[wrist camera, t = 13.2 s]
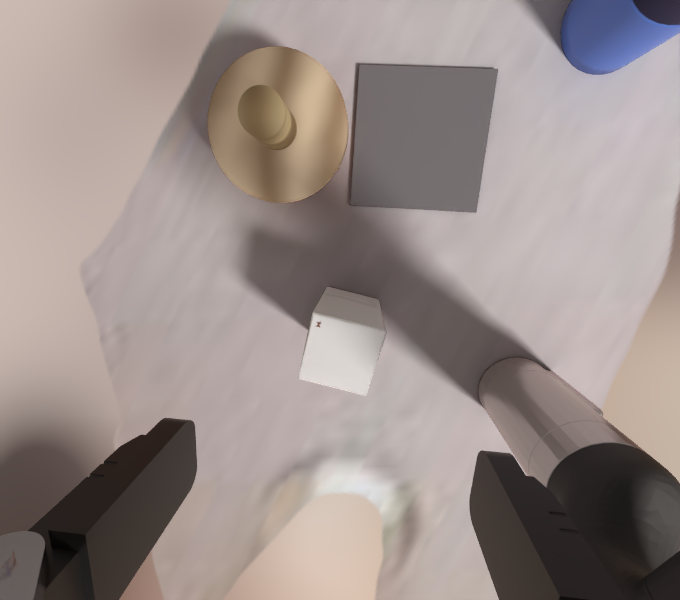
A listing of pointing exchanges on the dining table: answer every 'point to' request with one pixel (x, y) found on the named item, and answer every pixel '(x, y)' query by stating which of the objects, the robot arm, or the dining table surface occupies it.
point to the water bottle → (616, 31)
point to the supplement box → (343, 341)
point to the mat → (421, 136)
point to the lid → (278, 124)
